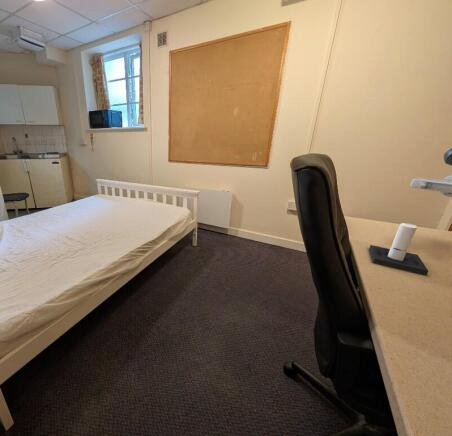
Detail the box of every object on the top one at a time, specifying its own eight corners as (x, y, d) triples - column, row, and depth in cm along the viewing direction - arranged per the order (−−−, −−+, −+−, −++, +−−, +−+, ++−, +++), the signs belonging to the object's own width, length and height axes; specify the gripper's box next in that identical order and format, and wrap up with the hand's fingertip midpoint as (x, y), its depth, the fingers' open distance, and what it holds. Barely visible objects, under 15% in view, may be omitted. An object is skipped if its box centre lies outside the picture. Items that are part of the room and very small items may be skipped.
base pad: (415, 258, 87) (417, 254, 87) (426, 275, 77) (428, 270, 76) (368, 248, 95) (370, 244, 95) (372, 262, 85) (374, 258, 84)
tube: (396, 258, 88) (411, 223, 82) (404, 264, 84) (420, 228, 79) (383, 257, 89) (397, 222, 84) (390, 262, 85) (405, 227, 80)
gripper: (423, 173, 93) (405, 175, 89) (506, 182, 76) (490, 185, 71) (417, 188, 96) (399, 191, 91) (497, 199, 78) (481, 204, 73)
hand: (440, 188), depth 81 cm, fingers open, 8 cm apart
